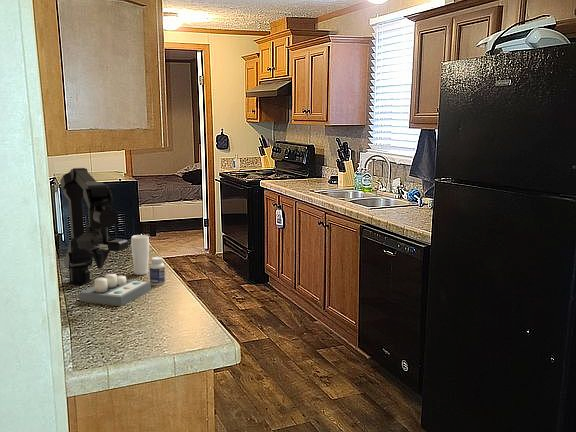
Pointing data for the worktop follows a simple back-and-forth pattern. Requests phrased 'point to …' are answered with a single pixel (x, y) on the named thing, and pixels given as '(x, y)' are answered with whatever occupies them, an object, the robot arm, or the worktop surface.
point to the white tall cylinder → (140, 253)
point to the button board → (116, 293)
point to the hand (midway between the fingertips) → (100, 268)
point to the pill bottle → (157, 271)
